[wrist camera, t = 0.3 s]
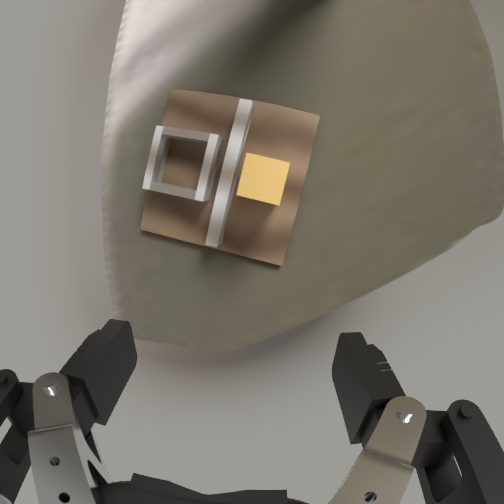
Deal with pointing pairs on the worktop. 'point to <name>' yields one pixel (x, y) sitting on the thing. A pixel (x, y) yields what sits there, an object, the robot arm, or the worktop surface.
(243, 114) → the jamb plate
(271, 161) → the block
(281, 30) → the worktop surface
